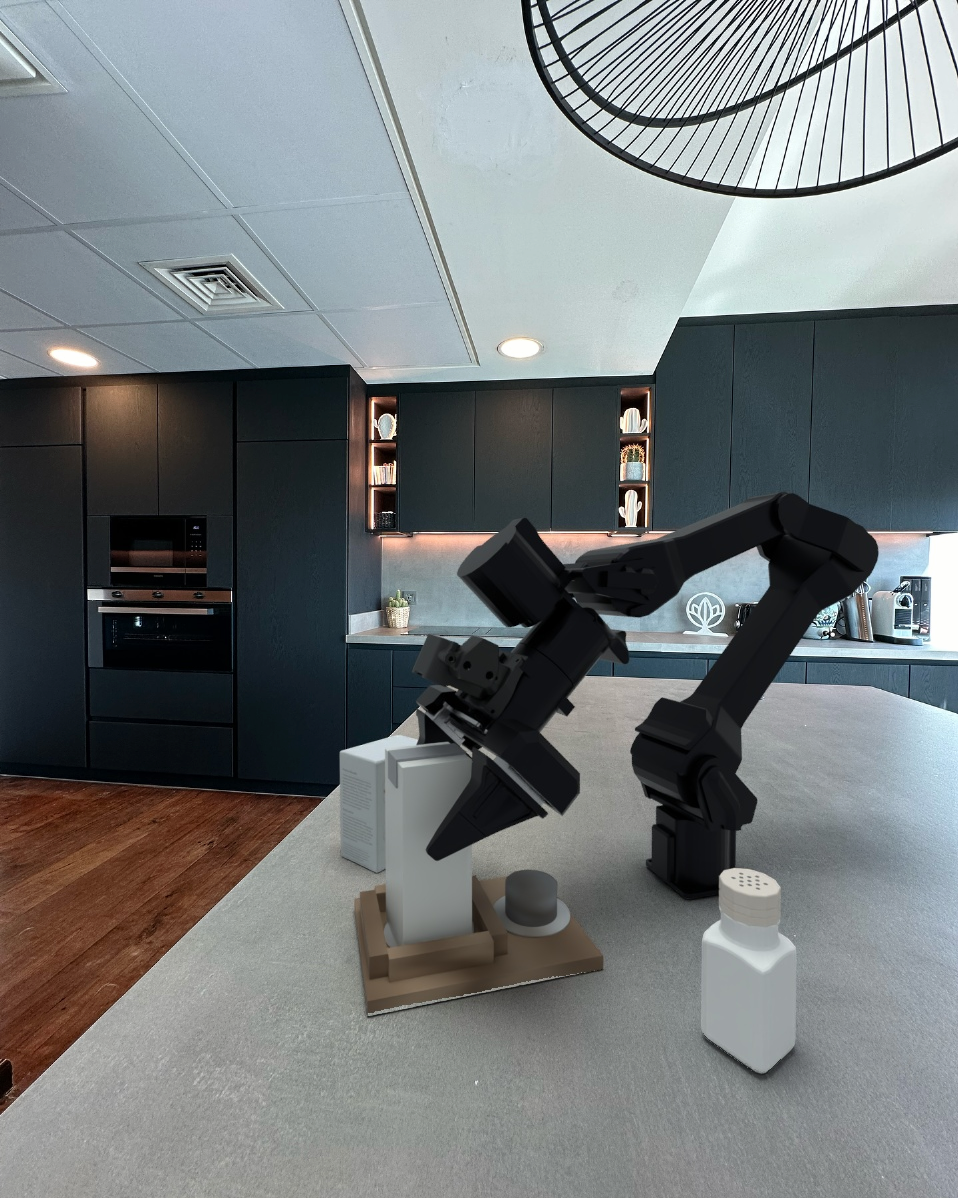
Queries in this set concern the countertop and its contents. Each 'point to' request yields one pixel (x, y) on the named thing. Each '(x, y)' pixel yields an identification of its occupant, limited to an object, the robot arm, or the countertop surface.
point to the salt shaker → (749, 972)
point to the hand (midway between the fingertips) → (410, 828)
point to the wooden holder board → (475, 944)
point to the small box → (365, 801)
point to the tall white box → (425, 844)
